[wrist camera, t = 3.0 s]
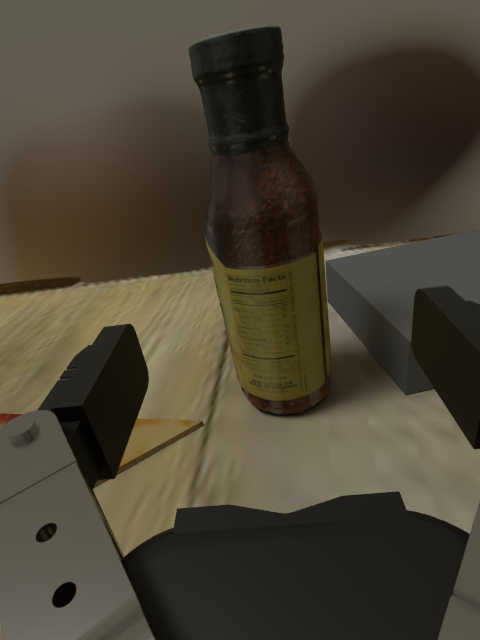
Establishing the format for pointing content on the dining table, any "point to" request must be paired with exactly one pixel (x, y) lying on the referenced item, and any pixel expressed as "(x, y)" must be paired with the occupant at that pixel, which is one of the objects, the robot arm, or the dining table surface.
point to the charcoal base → (400, 295)
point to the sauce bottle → (262, 224)
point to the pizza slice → (143, 437)
